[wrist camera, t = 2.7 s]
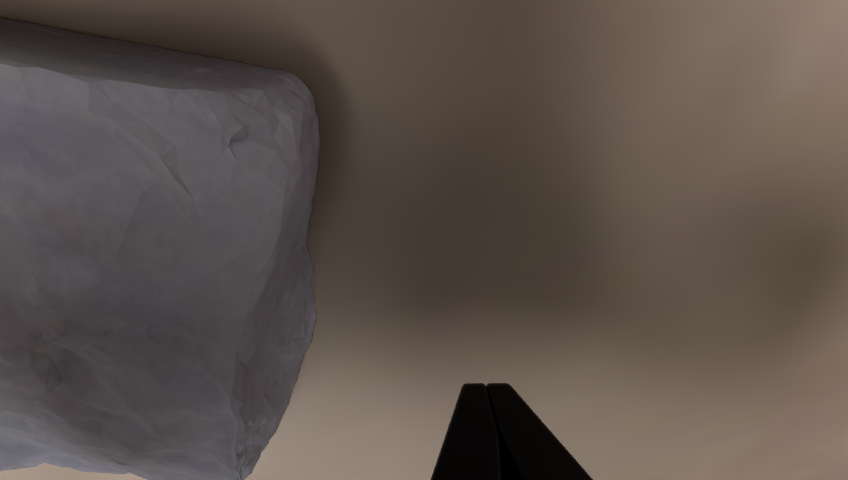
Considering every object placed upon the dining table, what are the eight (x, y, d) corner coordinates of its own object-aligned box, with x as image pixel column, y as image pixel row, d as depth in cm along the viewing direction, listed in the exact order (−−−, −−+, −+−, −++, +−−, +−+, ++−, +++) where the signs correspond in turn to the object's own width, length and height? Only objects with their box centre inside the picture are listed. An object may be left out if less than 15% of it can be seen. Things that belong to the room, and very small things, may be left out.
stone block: (324, 367, 15) (344, 28, 9) (280, 538, 11) (262, 146, 5) (-81, 310, 14) (-360, -102, 8) (-278, 473, 10) (-1080, -77, 4)
